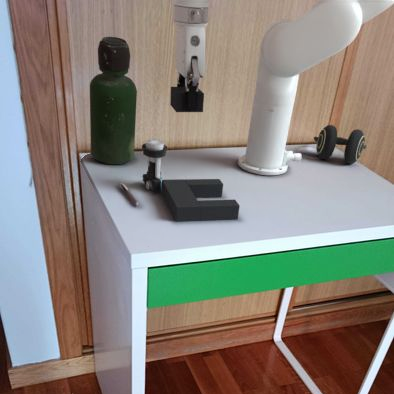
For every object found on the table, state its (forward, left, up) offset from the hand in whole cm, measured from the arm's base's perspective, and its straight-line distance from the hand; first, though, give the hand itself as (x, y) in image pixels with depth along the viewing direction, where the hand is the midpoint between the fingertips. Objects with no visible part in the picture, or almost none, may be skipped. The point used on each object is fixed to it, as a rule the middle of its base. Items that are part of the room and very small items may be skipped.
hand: (186, 105), depth 119 cm
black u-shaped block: (+4, +28, -13) cm, 31 cm away
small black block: (0, 0, -1) cm, 1 cm away
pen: (+17, +23, -13) cm, 31 cm away
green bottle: (+18, -1, -12) cm, 22 cm away
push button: (+12, +18, -13) cm, 25 cm away
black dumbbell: (-41, +6, -7) cm, 42 cm away
